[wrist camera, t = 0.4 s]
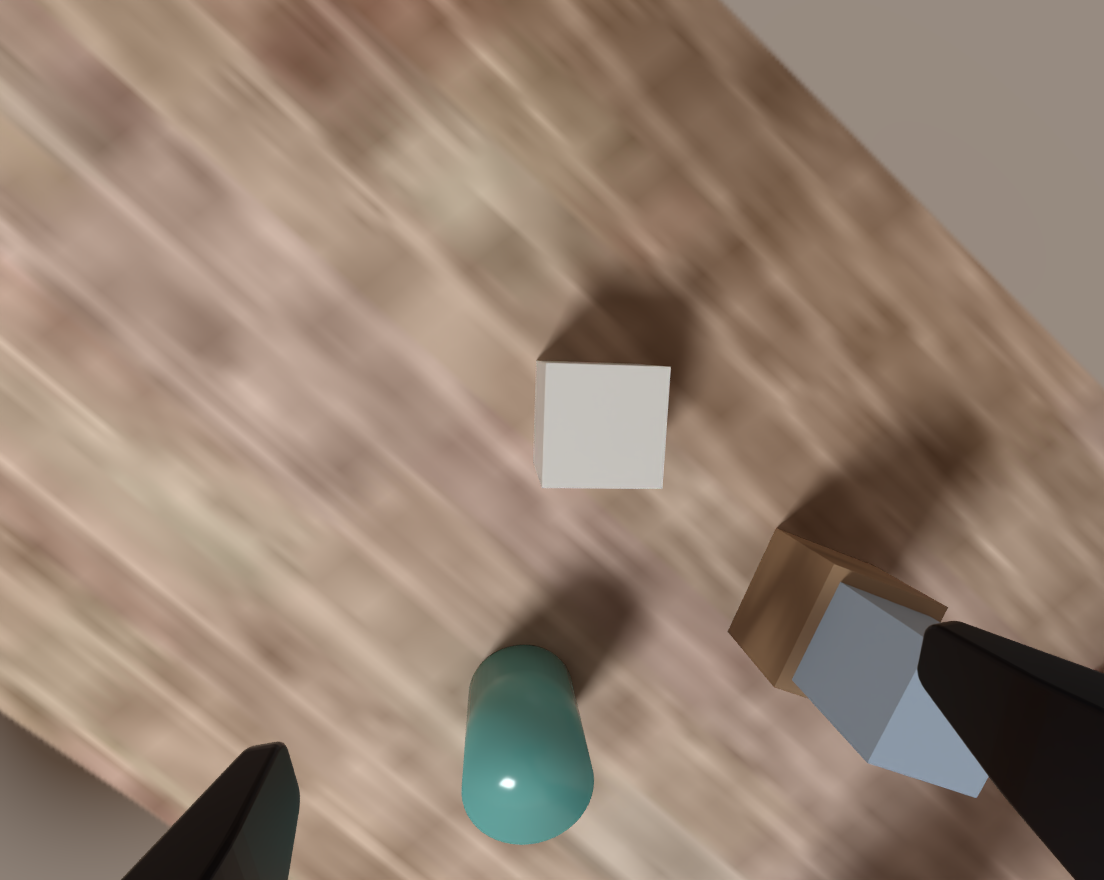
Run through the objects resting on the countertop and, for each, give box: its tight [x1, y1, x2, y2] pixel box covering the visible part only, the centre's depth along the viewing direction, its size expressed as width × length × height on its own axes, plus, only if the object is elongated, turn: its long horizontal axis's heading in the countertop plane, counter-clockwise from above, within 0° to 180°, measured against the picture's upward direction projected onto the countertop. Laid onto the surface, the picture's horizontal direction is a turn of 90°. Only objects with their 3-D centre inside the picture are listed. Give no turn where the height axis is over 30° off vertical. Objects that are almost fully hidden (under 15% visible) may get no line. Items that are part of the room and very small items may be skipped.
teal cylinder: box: [462, 645, 594, 845], centre depth 20 cm, size 4×4×5 cm
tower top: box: [792, 582, 989, 798], centre depth 18 cm, size 4×4×4 cm
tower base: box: [728, 528, 948, 699], centre depth 21 cm, size 5×5×4 cm
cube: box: [533, 361, 671, 489], centre depth 19 cm, size 4×4×4 cm
